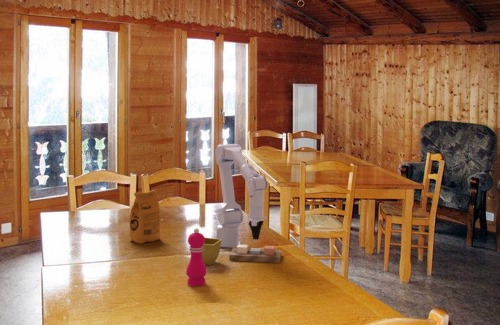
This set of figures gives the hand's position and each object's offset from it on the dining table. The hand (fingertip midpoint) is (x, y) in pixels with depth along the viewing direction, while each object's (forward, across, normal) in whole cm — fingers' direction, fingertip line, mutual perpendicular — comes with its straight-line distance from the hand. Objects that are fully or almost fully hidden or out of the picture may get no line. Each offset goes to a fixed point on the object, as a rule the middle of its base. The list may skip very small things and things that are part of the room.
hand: (255, 239), depth 244 cm
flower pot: (+8, -10, +18) cm, 22 cm away
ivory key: (+6, 0, +5) cm, 8 cm away
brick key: (+6, 0, -6) cm, 8 cm away
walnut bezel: (+8, 0, 0) cm, 8 cm away
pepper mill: (+8, -34, +17) cm, 39 cm away
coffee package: (+8, +18, +52) cm, 56 cm away
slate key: (+7, 0, 0) cm, 7 cm away
